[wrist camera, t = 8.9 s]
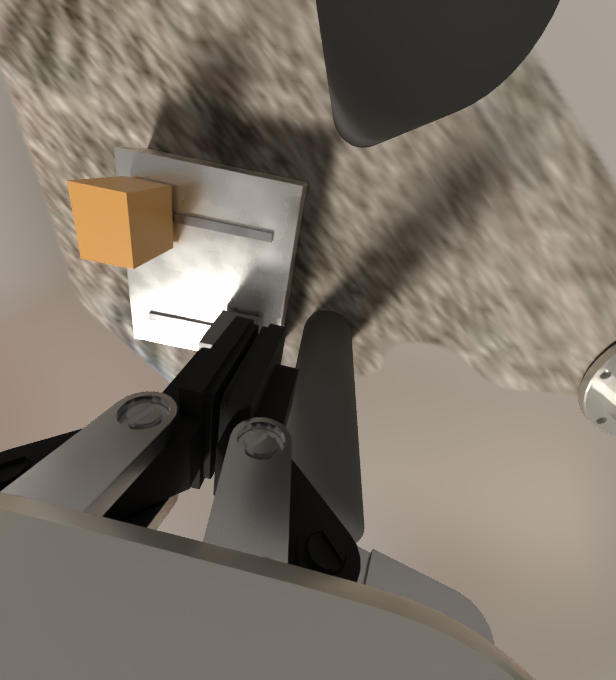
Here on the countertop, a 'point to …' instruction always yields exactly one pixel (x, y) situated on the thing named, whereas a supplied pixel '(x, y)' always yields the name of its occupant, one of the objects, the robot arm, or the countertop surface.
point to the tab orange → (122, 219)
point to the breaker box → (214, 246)
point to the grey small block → (222, 327)
